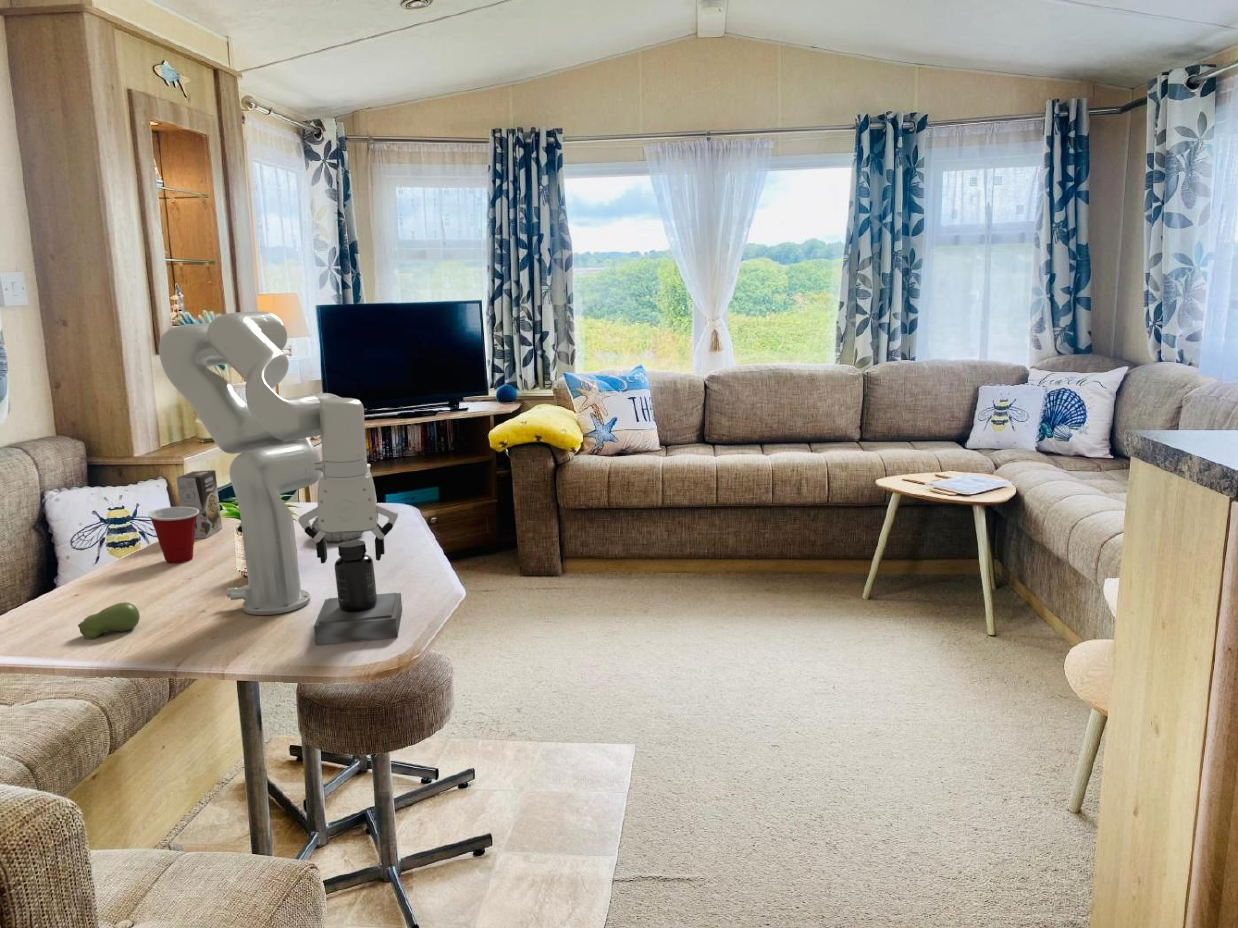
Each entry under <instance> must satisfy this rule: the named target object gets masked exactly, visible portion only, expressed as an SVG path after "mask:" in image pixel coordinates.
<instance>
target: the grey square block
mask: <svg viewBox="0 0 1238 928" xmlns="http://www.w3.org/2000/svg"><path fill="white" fill-rule="evenodd" d="M376 594H377V593H376ZM402 602H403V601H402V593H401V592H388V593H378V594H377V603H376V605H375V606H374V607H372V608H370V609H367V610H364V611H359V612H346V611H343V610H341V609H340V607H339V601H338V597H331V598H325V599H324V602H323V604H322V606H321V608H320V611H319V613H318V615H317V618H316V620H315V623H314V625H313V627H314V628H313V629H314V639H315V646H321V645H333V644H343V643H355V642H363V641H365V642H366V641H375V640H386V639H387V640H388V639H397V638H399V632H400V626H401V619H402V615H403V604H402Z"/></svg>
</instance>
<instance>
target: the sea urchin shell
mask: <svg viewBox="0 0 1238 928" xmlns="http://www.w3.org/2000/svg"><path fill="white" fill-rule="evenodd" d="M310 525H311V526H313V527H314V528H315V529H316V530H317V531H318V530H319V526H318V516H316V517H315V518H314V520H313V521H312V523H311V524H310ZM364 533H365V532H348V533H326V534H325V535H324V537H325V539H326V543H327V542H335V543H336V542H341V541H342V542H346V541H352V540H356V539H357V538H360V536H362V535H363V534H364Z"/></svg>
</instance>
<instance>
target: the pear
mask: <svg viewBox="0 0 1238 928" xmlns="http://www.w3.org/2000/svg"><path fill="white" fill-rule="evenodd" d="M140 616H141V615H140V611H139V609H138V607H137V606H136V605H134V604H133V603H131V602H126V601H125V602H124V601H123V602H120V603H119V602H118V603H116V604H113V605H110V606H107V607H105V608H104V609H102V610H101V611H99V612H97V613H93V614H90V615H89V616H87V617H85V618H84V619H83V621H80V623H78V624H77V626H78V629H79V632H80V634H81V635H82V636H83V637H84V639H85V640H92V639H96V638H98V637H99V636H100V635H102V634H103V633H105V632H128V631H131V630H133V628H135V627H136V626H137V625H138V624H139V621H140Z"/></svg>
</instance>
